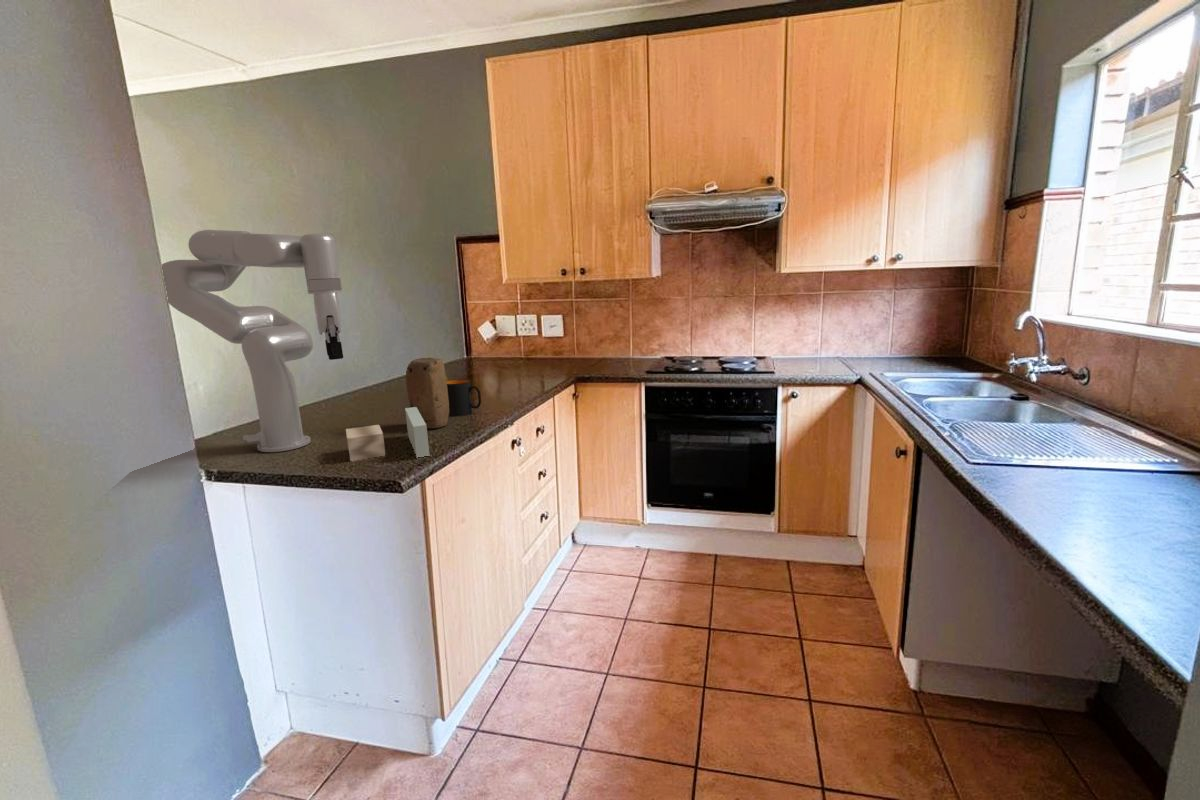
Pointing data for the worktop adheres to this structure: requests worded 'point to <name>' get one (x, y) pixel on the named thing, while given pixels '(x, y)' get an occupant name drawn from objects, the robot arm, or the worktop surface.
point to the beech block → (365, 442)
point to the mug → (461, 397)
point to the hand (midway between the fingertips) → (335, 357)
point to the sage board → (417, 432)
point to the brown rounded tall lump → (428, 390)
